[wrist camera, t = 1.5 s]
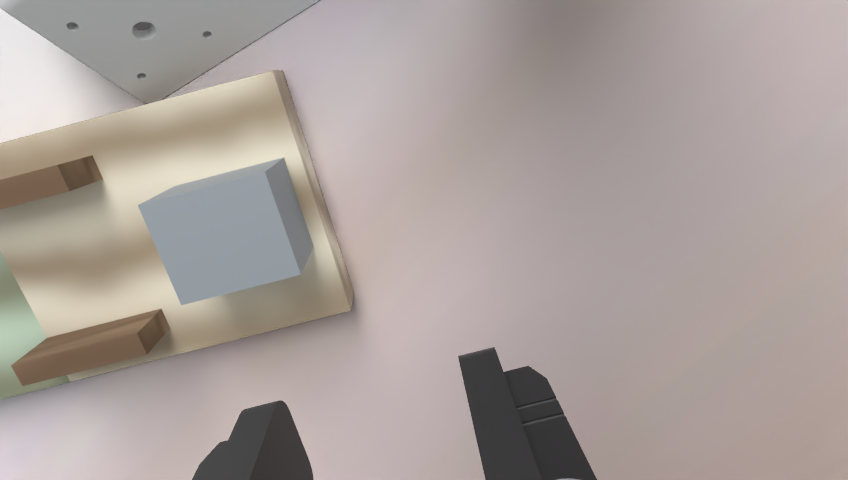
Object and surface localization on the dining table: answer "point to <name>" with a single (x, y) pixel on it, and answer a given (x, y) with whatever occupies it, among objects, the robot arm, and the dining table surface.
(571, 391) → the dining table surface
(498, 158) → the dining table surface
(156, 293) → the tunnel deck
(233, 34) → the bracket
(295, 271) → the grey block
